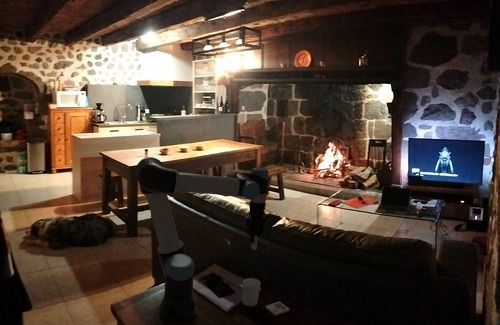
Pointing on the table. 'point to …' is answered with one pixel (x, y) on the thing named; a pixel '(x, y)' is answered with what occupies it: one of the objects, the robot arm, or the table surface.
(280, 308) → the placard
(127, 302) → the table surface
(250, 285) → the white cup
